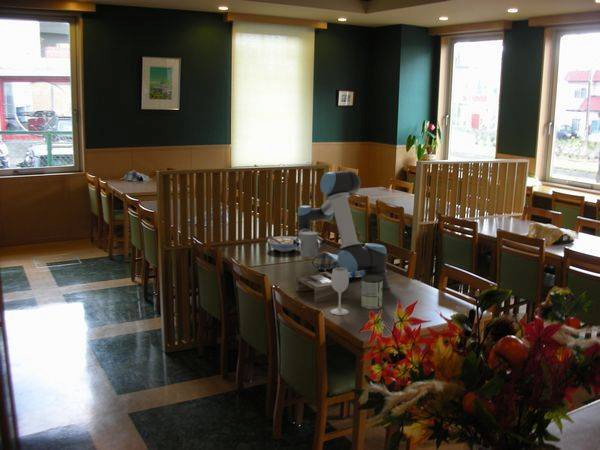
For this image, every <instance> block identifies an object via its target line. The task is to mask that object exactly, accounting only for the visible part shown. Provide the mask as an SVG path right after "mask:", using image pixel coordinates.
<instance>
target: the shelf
mask: <svg viewBox="0 0 600 450" xmlns="http://www.w3.org/2000/svg"><path fill="white" fill-rule="evenodd" d="M316 275H322V276H324V277H325V278H327V279H329V280H331V277H332V273H330V272H328V271H323V272H322V271H321V272H313V273H307V274H299V275H296V276H295V277H296V279H295V280H296V285H295V286H296V288H295V289H296V291H297V293H298V292H303V291H305V292H306V291H312V290H314V291H313V293H314V295H313V296H314V303H322V302H326V301H333V300H339V294H338V292H337V291H335V290H334V289H333V287H332V284H331V282H328V283H321V284H317V283H315V282H313V281H311V280H310V276H316ZM348 288H349V286H348V287H347V289H346V290H345V291H343V292H342V293H341V299H346V298H348V295H349V294H348V293H349V292H348Z"/></svg>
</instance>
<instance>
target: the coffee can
mask: <svg viewBox="0 0 600 450" xmlns="http://www.w3.org/2000/svg"><path fill="white" fill-rule="evenodd" d="M361 279H362V288H361V296H360V299H361V300H360V302H361V303H360V306H361V307H362V308H365V309H369V310H370V309H371V310H375V309H380V308H382V307H383V290H382V283H383V277H381V276H378V275H365V276H363V275H362V276H361V278H360V280H361Z"/></svg>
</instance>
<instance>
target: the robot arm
mask: <svg viewBox="0 0 600 450" xmlns="http://www.w3.org/2000/svg"><path fill="white" fill-rule="evenodd" d="M361 184H362V181H361V178H360V177H359V175H358V174H357V172H355V171H353V170H341V171H338V170H337V171H330V172H325V173H324V174H323V175H322V177H321V179H320V191H321V193H322V194H324V195H325V196H327V197H326V198H327V200H326V201H325V202H324V203H323V204H322V205H321V206H320V207H314V208H312V207H311V205H300V206H298V210H297V221H298V223H297V236H294V237H295V238H294V240H293V245H295V244H297V246H298V247H299V248H300V249H301V241H300V233H301V232H304V231H312V222H319V221H329V220H331V219H333V218H334V217H335V222H336V226H337V230H338V235H339V239H340V242H341V246H340V248H339V252H338V254H337V263H338V265H339V267H342V268H346V269H347V271H348V273H355V272H360V271H361V272H362V271H363V274H362V276H365V275H378V276H381V277H383V283H382V291H386V290H388V289H389V288H390V283H389V279H388V276H387V255H388V253H387V247H386V246H385V245H383V244H379V243H372V242H369V243H365V244H364V246H363V245H362V242H360V241H359V239H358V236H357V232H356V227H355V223H354V220H353V216H352V212H351V208H350V203H349V197H351V196H354V195H355V194H356V193H357V192H358V191H359V190H360V188H361ZM324 244H325V239H324V238H323V237H321V236H320V235H318V248H321V246H322V245H324ZM360 288H361V289H362V279H361V278H360Z"/></svg>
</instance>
